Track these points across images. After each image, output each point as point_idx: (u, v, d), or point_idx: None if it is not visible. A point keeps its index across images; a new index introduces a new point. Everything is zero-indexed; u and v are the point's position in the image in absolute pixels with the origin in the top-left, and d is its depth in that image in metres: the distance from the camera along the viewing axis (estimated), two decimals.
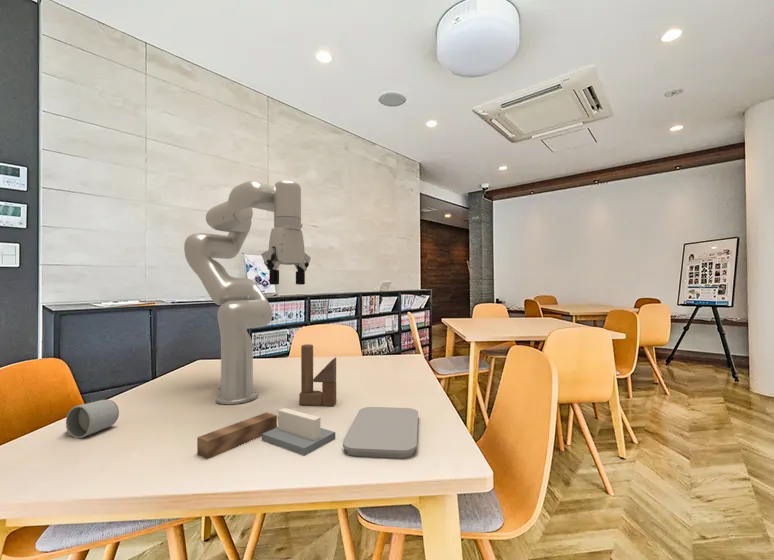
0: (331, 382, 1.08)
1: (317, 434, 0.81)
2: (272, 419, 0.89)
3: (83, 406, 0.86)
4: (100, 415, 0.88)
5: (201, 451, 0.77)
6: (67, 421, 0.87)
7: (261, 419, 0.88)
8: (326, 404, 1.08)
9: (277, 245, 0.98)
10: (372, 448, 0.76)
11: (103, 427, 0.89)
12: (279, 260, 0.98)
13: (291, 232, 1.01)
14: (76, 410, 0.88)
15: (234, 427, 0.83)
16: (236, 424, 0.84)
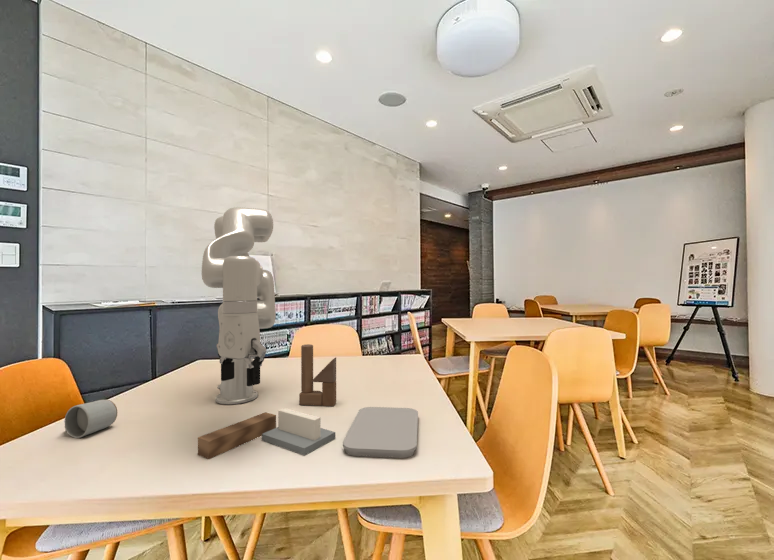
0: (331, 382, 1.08)
1: (317, 434, 0.81)
2: (271, 418, 0.89)
3: (82, 406, 0.86)
4: (99, 415, 0.88)
5: (202, 451, 0.76)
6: (66, 421, 0.87)
7: (261, 419, 0.88)
8: (326, 404, 1.08)
9: (258, 337, 0.82)
10: (372, 448, 0.76)
11: (102, 427, 0.89)
12: None
13: None
14: (75, 410, 0.88)
15: (234, 427, 0.83)
16: (236, 424, 0.84)
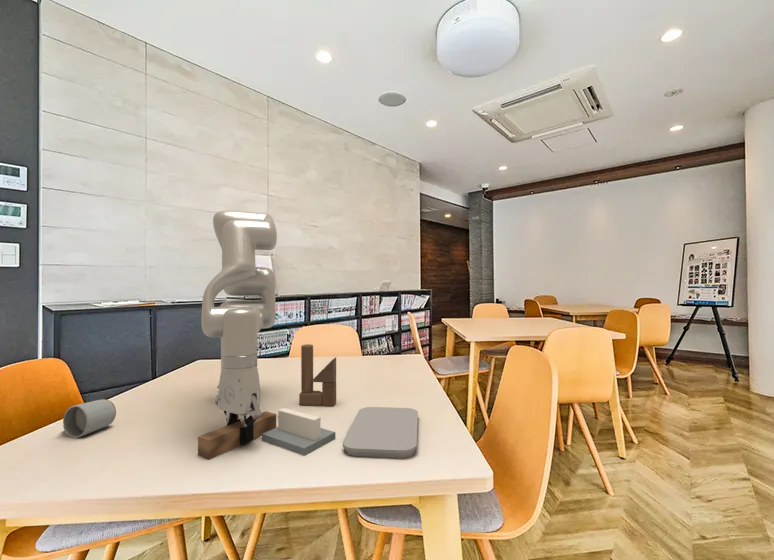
0: (331, 382, 1.08)
1: (317, 434, 0.81)
2: (272, 417, 0.89)
3: (80, 406, 0.87)
4: (97, 415, 0.88)
5: (202, 450, 0.76)
6: (64, 421, 0.87)
7: (261, 418, 0.88)
8: (326, 404, 1.08)
9: (258, 391, 0.82)
10: (372, 448, 0.76)
11: (100, 427, 0.90)
12: None
13: None
14: (73, 410, 0.88)
15: (234, 426, 0.82)
16: (236, 423, 0.84)
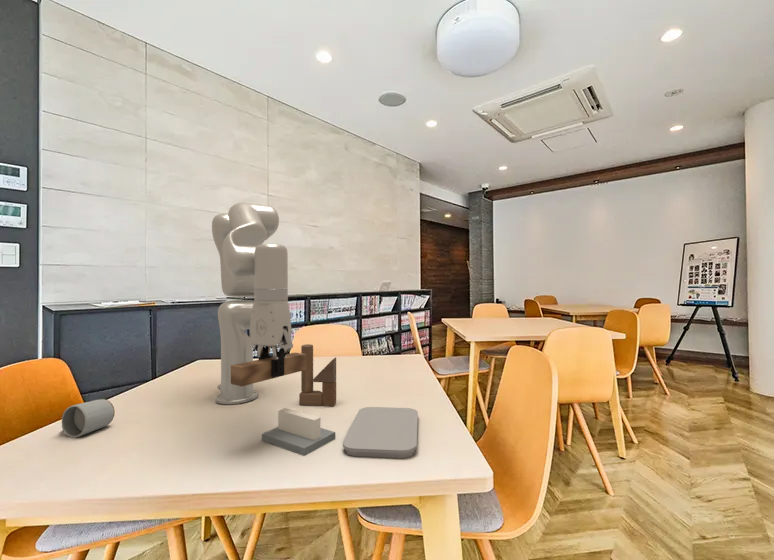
0: (331, 382, 1.08)
1: (317, 434, 0.81)
2: (301, 356, 0.89)
3: (79, 406, 0.87)
4: (96, 415, 0.88)
5: (235, 378, 0.77)
6: (63, 420, 0.87)
7: (291, 356, 0.88)
8: (326, 404, 1.08)
9: (289, 324, 0.83)
10: (372, 448, 0.76)
11: (99, 426, 0.90)
12: None
13: None
14: (72, 410, 0.89)
15: (265, 360, 0.83)
16: (267, 358, 0.85)
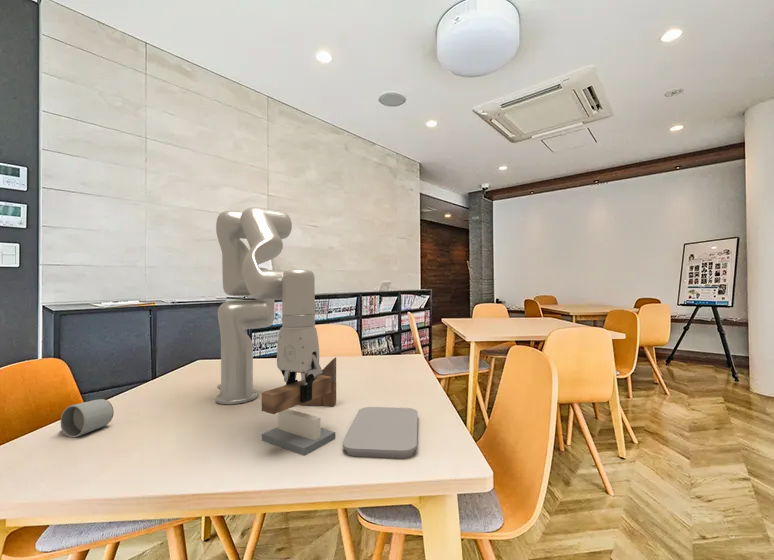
0: (331, 382, 1.08)
1: (317, 434, 0.81)
2: (327, 380, 0.90)
3: (78, 405, 0.87)
4: (95, 414, 0.88)
5: (266, 406, 0.77)
6: (62, 420, 0.87)
7: (317, 379, 0.88)
8: (326, 404, 1.08)
9: (317, 350, 0.83)
10: (372, 448, 0.76)
11: (98, 426, 0.90)
12: None
13: None
14: (71, 409, 0.89)
15: (293, 385, 0.83)
16: (294, 383, 0.85)
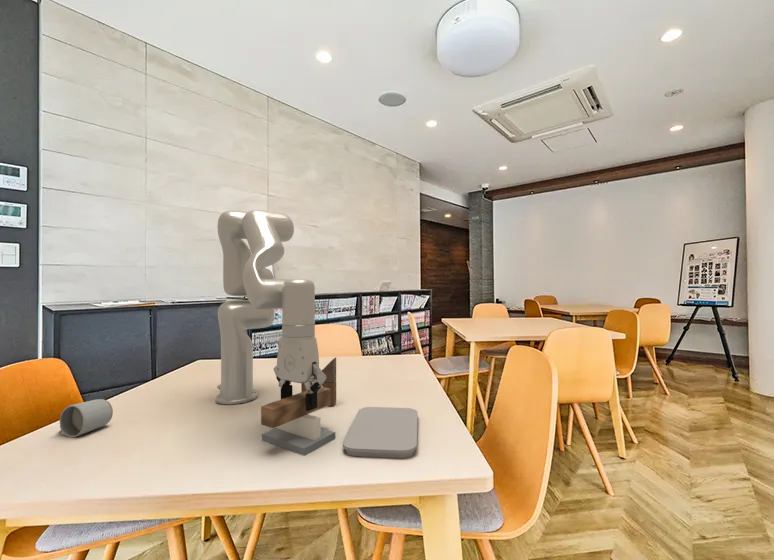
0: (331, 382, 1.08)
1: (317, 434, 0.81)
2: (326, 392, 0.90)
3: (77, 405, 0.87)
4: (94, 414, 0.88)
5: (265, 420, 0.77)
6: (61, 420, 0.88)
7: (317, 392, 0.88)
8: None
9: (317, 360, 0.83)
10: (372, 448, 0.76)
11: (97, 426, 0.90)
12: None
13: None
14: (70, 409, 0.89)
15: (293, 398, 0.84)
16: (294, 396, 0.85)
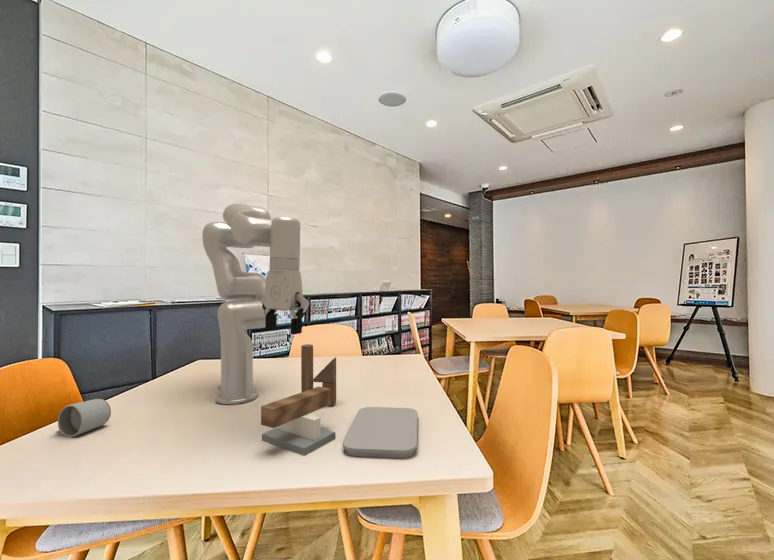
0: (331, 382, 1.08)
1: (317, 434, 0.81)
2: (326, 392, 0.90)
3: (75, 405, 0.87)
4: (92, 414, 0.88)
5: (265, 420, 0.77)
6: (59, 420, 0.88)
7: (317, 392, 0.88)
8: None
9: (300, 291, 0.91)
10: (372, 448, 0.76)
11: (95, 426, 0.90)
12: (301, 307, 0.92)
13: None
14: (68, 409, 0.89)
15: (293, 398, 0.84)
16: (294, 396, 0.85)
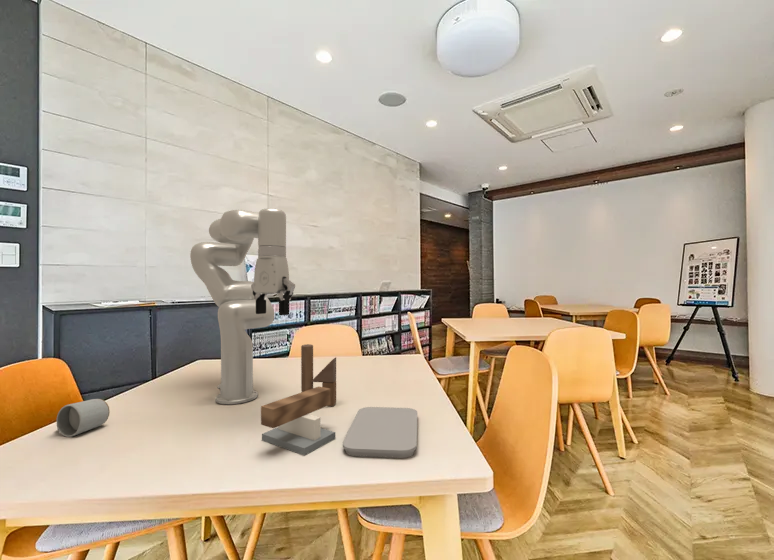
0: (331, 382, 1.08)
1: (317, 434, 0.81)
2: (326, 392, 0.90)
3: (73, 405, 0.87)
4: (90, 414, 0.89)
5: (265, 420, 0.77)
6: (57, 420, 0.88)
7: (317, 392, 0.88)
8: None
9: (287, 276, 0.99)
10: (372, 448, 0.76)
11: (93, 426, 0.90)
12: None
13: None
14: (67, 409, 0.89)
15: (293, 398, 0.84)
16: (294, 396, 0.85)
